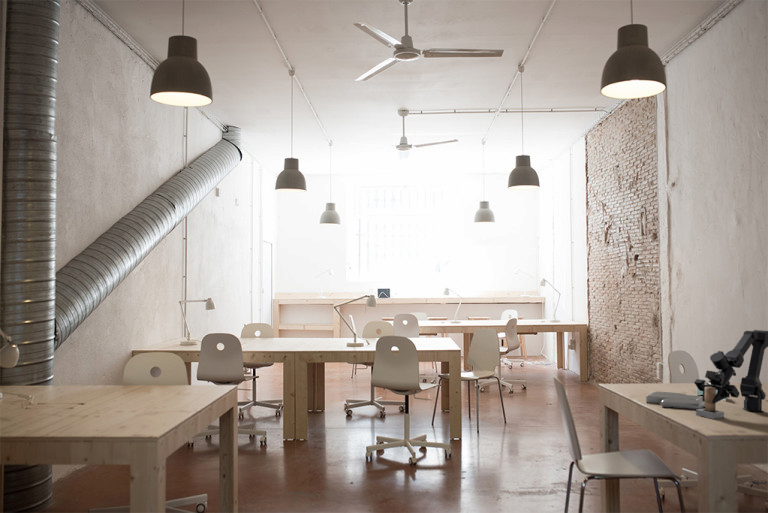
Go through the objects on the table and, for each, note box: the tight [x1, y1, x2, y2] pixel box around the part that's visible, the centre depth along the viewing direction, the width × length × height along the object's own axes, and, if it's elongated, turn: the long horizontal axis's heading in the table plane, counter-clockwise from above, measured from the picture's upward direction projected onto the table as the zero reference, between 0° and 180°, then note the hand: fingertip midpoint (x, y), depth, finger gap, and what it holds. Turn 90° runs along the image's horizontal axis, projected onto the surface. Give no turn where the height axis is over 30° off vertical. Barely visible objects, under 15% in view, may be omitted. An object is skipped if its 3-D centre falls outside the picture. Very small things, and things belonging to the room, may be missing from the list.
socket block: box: [695, 408, 725, 420], centre depth 268 cm, size 8×8×2 cm
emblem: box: [645, 391, 705, 410], centre depth 294 cm, size 28×5×28 cm
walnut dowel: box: [704, 387, 717, 412], centre depth 268 cm, size 4×4×13 cm
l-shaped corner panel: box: [696, 382, 727, 401], centre depth 313 cm, size 12×12×8 cm
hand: (708, 401), depth 267 cm, fingers closed on walnut dowel, 4 cm apart
